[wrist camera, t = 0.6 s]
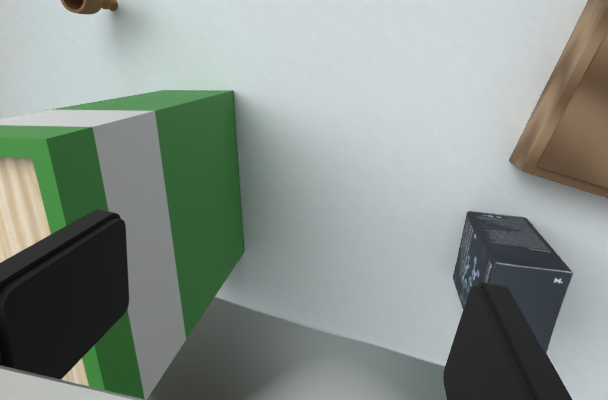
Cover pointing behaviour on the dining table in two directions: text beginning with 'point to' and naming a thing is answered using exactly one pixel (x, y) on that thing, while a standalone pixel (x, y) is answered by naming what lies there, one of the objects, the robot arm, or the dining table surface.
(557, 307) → the box
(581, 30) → the walnut plinth
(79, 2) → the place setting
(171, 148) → the hardback book
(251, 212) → the dining table surface
